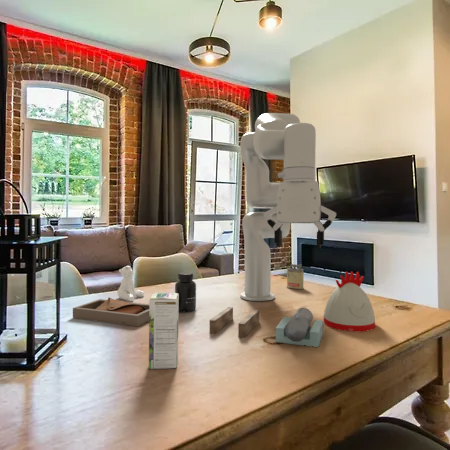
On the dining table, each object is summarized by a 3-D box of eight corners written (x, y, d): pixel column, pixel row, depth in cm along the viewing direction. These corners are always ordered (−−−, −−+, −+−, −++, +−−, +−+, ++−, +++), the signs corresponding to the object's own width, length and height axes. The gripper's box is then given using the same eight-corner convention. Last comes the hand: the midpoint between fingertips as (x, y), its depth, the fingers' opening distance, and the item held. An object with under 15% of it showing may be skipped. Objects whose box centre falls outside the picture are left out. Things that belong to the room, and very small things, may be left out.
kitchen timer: (385, 330, 99) (386, 275, 99) (337, 333, 97) (338, 276, 96) (358, 315, 113) (358, 267, 113) (316, 318, 111) (316, 268, 110)
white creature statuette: (131, 302, 130) (131, 268, 129) (110, 300, 132) (110, 267, 132) (145, 296, 138) (145, 264, 138) (125, 294, 141) (125, 263, 141)
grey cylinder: (294, 324, 99) (295, 306, 99) (312, 326, 98) (313, 308, 97) (284, 340, 87) (285, 320, 87) (305, 343, 85) (306, 322, 85)
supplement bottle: (192, 313, 115) (192, 275, 115) (171, 312, 117) (171, 274, 116) (198, 307, 122) (198, 271, 121) (178, 306, 123) (178, 271, 123)
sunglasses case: (86, 312, 114) (96, 292, 116) (103, 319, 119) (112, 299, 121) (124, 323, 103) (134, 300, 106) (141, 330, 108) (150, 308, 111)
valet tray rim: (99, 308, 122) (99, 299, 121) (160, 315, 113) (160, 305, 113) (72, 317, 110) (72, 308, 110) (137, 326, 102) (137, 315, 102)
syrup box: (151, 358, 80) (151, 292, 80) (179, 357, 81) (178, 291, 80) (148, 369, 74) (147, 298, 74) (178, 368, 75) (177, 298, 74)
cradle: (284, 329, 100) (284, 316, 99) (322, 334, 96) (323, 320, 96) (275, 341, 90) (275, 327, 90) (318, 347, 87) (318, 332, 87)
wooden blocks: (228, 318, 110) (228, 307, 110) (259, 322, 106) (259, 310, 106) (209, 333, 97) (209, 320, 96) (244, 337, 93) (244, 324, 93)
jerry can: (285, 288, 154) (285, 264, 153) (288, 286, 157) (288, 263, 156) (302, 289, 150) (302, 265, 150) (304, 288, 153) (305, 264, 153)
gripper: (260, 176, 88) (260, 247, 89) (335, 173, 82) (334, 250, 83) (268, 178, 95) (267, 244, 96) (337, 176, 89) (336, 247, 90)
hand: (298, 247), depth 89 cm, fingers open, 9 cm apart
